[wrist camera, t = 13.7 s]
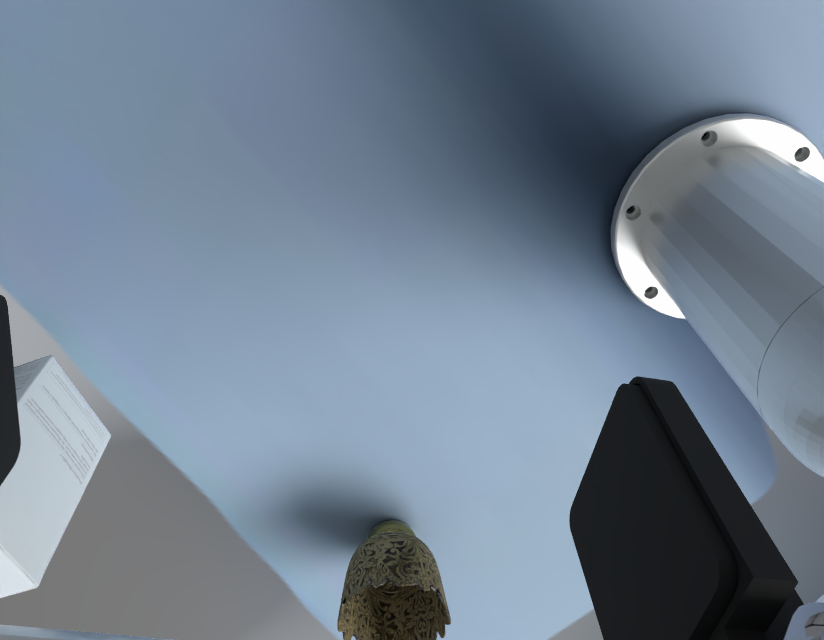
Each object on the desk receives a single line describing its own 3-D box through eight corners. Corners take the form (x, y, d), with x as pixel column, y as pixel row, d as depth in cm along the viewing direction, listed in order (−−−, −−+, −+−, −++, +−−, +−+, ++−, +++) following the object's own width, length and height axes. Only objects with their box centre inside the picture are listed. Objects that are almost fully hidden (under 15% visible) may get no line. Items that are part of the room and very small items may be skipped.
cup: (321, 530, 54) (314, 622, 47) (397, 481, 51) (400, 569, 45) (386, 581, 57) (387, 674, 50) (459, 536, 54) (472, 627, 48)
